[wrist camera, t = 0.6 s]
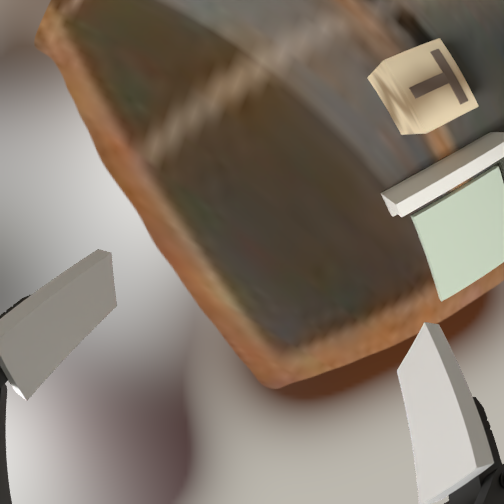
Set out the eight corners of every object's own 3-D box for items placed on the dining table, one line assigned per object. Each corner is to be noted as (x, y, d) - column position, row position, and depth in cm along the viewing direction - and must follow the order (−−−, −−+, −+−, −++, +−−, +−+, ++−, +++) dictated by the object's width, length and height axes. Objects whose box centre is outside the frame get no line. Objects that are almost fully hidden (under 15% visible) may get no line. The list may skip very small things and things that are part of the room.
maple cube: (367, 77, 27) (383, 60, 19) (415, 56, 24) (440, 37, 17) (401, 134, 29) (427, 133, 21) (447, 111, 26) (479, 106, 18)
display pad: (410, 215, 32) (413, 217, 31) (494, 165, 26) (498, 166, 25) (439, 298, 35) (441, 301, 34) (514, 249, 29) (517, 251, 28)
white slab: (380, 193, 32) (395, 204, 26) (490, 131, 25) (518, 133, 19) (390, 214, 32) (406, 229, 26) (498, 151, 25) (525, 156, 19)
